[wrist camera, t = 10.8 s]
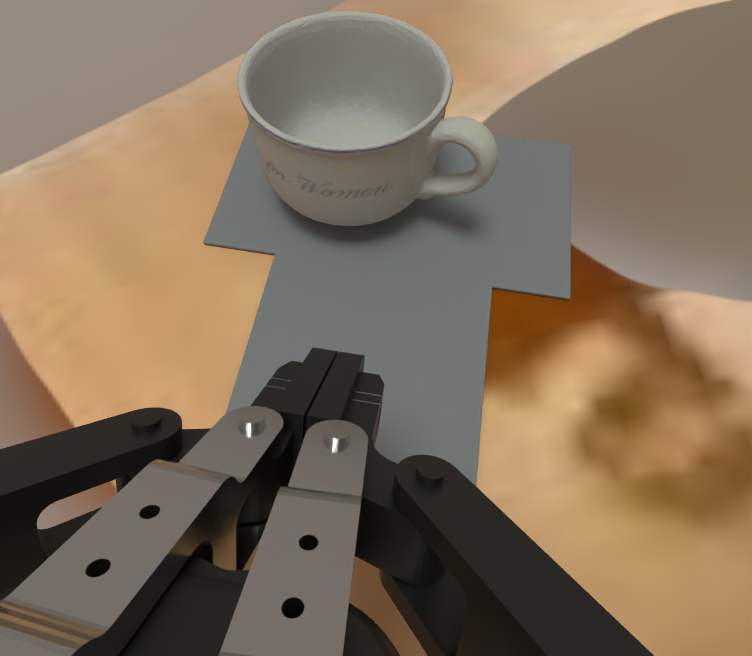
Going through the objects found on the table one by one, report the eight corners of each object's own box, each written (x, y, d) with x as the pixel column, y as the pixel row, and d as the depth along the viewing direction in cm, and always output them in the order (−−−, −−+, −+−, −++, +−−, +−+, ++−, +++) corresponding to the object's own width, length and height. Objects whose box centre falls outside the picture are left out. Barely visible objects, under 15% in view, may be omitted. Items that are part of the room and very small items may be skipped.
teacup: (234, 186, 30) (190, 73, 23) (347, 96, 34) (341, -26, 26) (399, 314, 26) (409, 229, 19) (508, 200, 30) (552, 90, 23)
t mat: (569, 146, 32) (570, 144, 32) (567, 543, 22) (569, 543, 22) (257, 105, 33) (257, 103, 33) (121, 460, 23) (119, 459, 23)
